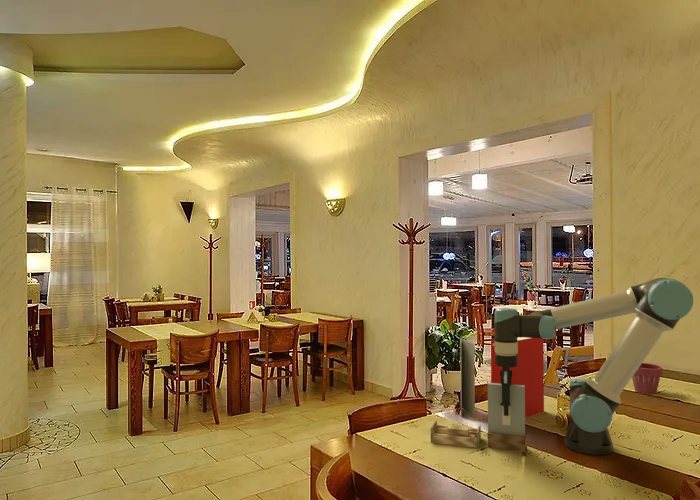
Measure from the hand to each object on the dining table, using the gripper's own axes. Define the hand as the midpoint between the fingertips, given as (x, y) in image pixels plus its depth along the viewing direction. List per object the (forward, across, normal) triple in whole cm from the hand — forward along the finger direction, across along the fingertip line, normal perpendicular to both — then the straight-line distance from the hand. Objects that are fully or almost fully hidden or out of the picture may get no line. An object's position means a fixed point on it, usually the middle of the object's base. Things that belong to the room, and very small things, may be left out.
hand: (506, 423), depth 176 cm
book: (+9, -42, +2) cm, 43 cm away
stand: (+9, 0, 0) cm, 9 cm away
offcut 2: (+8, +2, -15) cm, 17 cm away
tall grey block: (+9, -40, -18) cm, 45 cm away
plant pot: (+9, -101, +60) cm, 118 cm away
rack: (+9, 0, -17) cm, 19 cm away
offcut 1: (+5, +2, -16) cm, 17 cm away
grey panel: (+7, 0, 0) cm, 7 cm away
